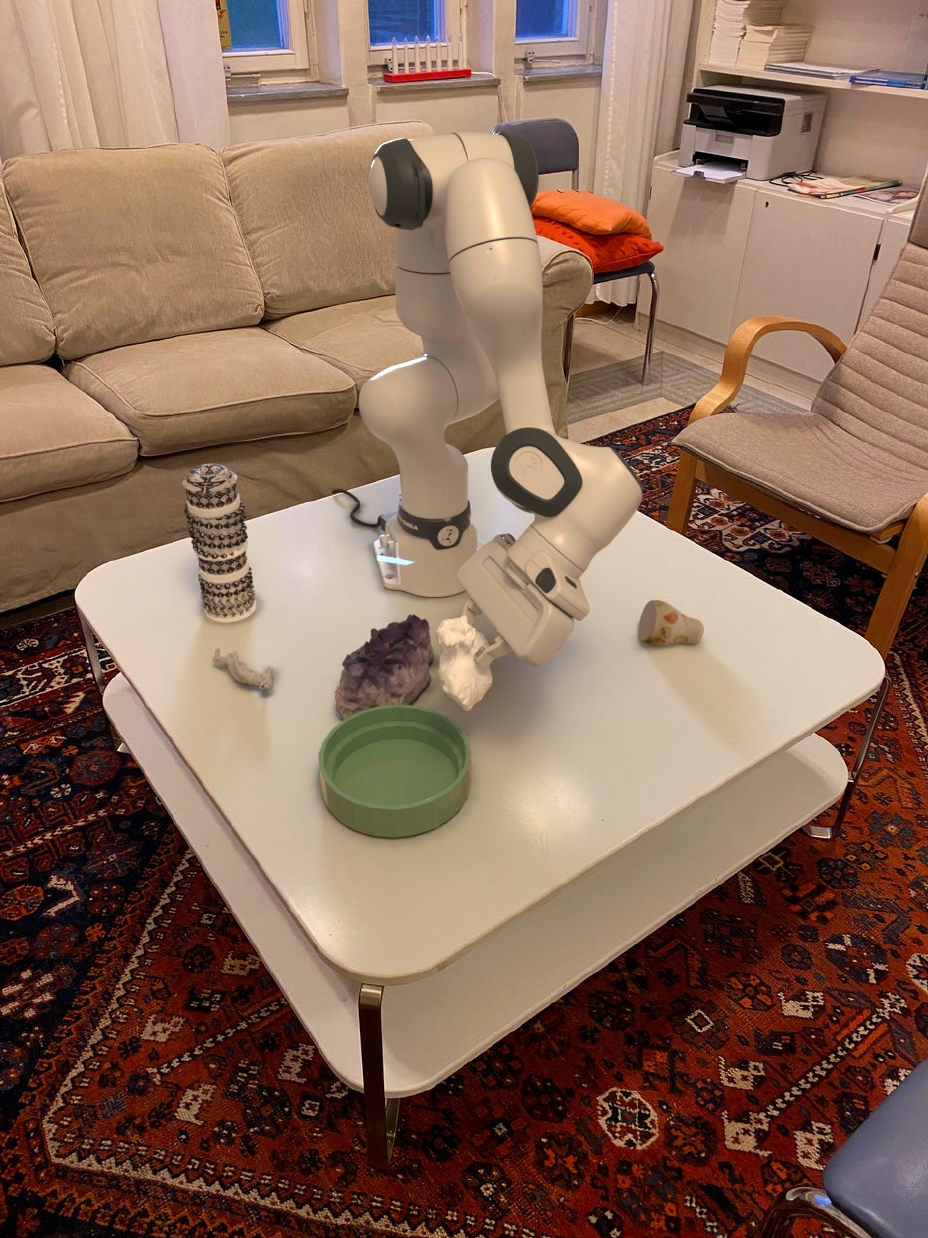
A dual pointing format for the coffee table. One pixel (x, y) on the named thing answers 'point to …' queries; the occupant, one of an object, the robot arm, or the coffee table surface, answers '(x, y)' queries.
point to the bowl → (395, 770)
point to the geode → (386, 668)
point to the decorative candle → (219, 542)
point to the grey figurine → (245, 671)
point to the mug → (667, 625)
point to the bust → (462, 662)
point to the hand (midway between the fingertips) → (468, 648)
